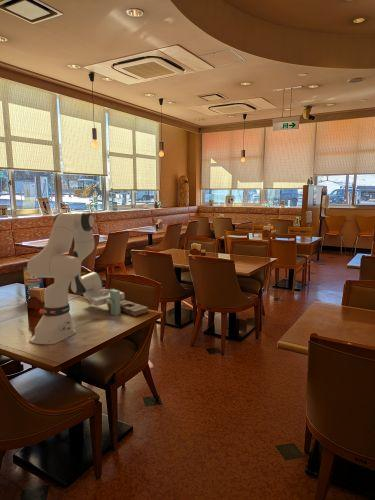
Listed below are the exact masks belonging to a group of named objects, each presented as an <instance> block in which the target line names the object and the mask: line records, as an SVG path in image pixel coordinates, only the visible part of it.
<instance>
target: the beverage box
mask: <svg viewBox="0 0 375 500" xmlns="http://www.w3.org/2000/svg"><path fill="white" fill-rule="evenodd" d="M23 279H24V280H23V281H24V291H25V294H24V295H25V303H26V302H27V299H28V298H29V294H28V292H27V291H28V289H30V288H33V287H39V288H44V278H41V277H36V276H32V275H30V273H29V272H28V269H27V266H26V267H23Z"/></svg>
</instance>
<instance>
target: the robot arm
mask: <svg viewBox="0 0 375 500" xmlns="http://www.w3.org/2000/svg"><path fill="white" fill-rule="evenodd" d="M94 217H95V216H94V215H93V214H92V213H91V212H88V211H83V212H82V211H70V212H69V211H68V212H60V213H57V214H56V215H55V216H54V218H53V225H52V227H51V232H50V235H49V238H48V241H47V243H46V244H45V246H44V247H43V248H42V249H41V250H40V251H39V252H38V253H37V254H35V255H33V256H32V257H30V258H29V259H28V261H27V265H26V267H27V269H28V272H29V273H30V275H32V276H36V277H41V278H43V279H46V278H47V279H48V278H53V279H54V280H53V281H54V282H53V283H52V284H50V285H48V286H46V288H44V289H45V291H44V306H43V308H42V309H39V314H42V316H41V318H40V319H39V321H38V323H37V325H36V326H35V327H34V335H33V336H31V338H29V343H32V344H37V345H55V344H57V343H59V342H61V341H63V340H65V339H68V338H69V337H72V336H73V335H75V334H76V333H77V332H76V331H77V330H76V329H75V327H74V323H73V322H74V321H73V316H72V315H71V312H70V311H71V309H70V308H71V305H70V303H69V288H70V290H71V292H72V293H73V294H75V295H79V296H82V295H83V296H84V298H85V299H87V300H88V302H89V303H90V304H91V305H93V306H96V307H99V306H102V305H107V304H110V305H111V304H112V303H114V300H110V290H114V289H115V288H103V278H102V275H100V274H99V273H97V271H96V272H95V271H91V272H89V273H87V274H84V275H81V273H82V272H81V270H82V262H83V261H84V259H85V258H87V257H88V256H89V255H90V254H92V252H93V251H94V250H95V245H96V244H95V236H94V233H93V228H94V227H95V218H94ZM73 240H74V248H73V251H72V252H71V255H65V253H67V252H68V251H70V250H71V248H72V243H73ZM123 300H125V292H123V291H120V301H123Z"/></svg>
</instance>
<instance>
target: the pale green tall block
mask: <svg viewBox="0 0 375 500" xmlns="http://www.w3.org/2000/svg"><path fill="white" fill-rule="evenodd" d="M113 289H114V290H110V300H114V303H112V304H111V303H110V314H111V315H112V314H114V315H113V316H115V315H118V316H120V315H119V314H121V311H120V301H121V300H120V292H121V291H120V290H119V289H115V288H113Z"/></svg>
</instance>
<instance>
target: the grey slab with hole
mask: <svg viewBox="0 0 375 500" xmlns="http://www.w3.org/2000/svg"><path fill="white" fill-rule="evenodd" d="M121 311H123V312H122V313H124V312H125V313H124V314H126V313H128V314H127V315H129V314H131V315H130V316H132V315H133V316H132V317H137V315H138V316H139V315H140V314H141V315H143V313H144V314H146V312H147V313H149V307H148V306H145V305H143V304H139V303H135V302H132V301H130V300H126V299H122V300H120V312H121Z"/></svg>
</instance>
